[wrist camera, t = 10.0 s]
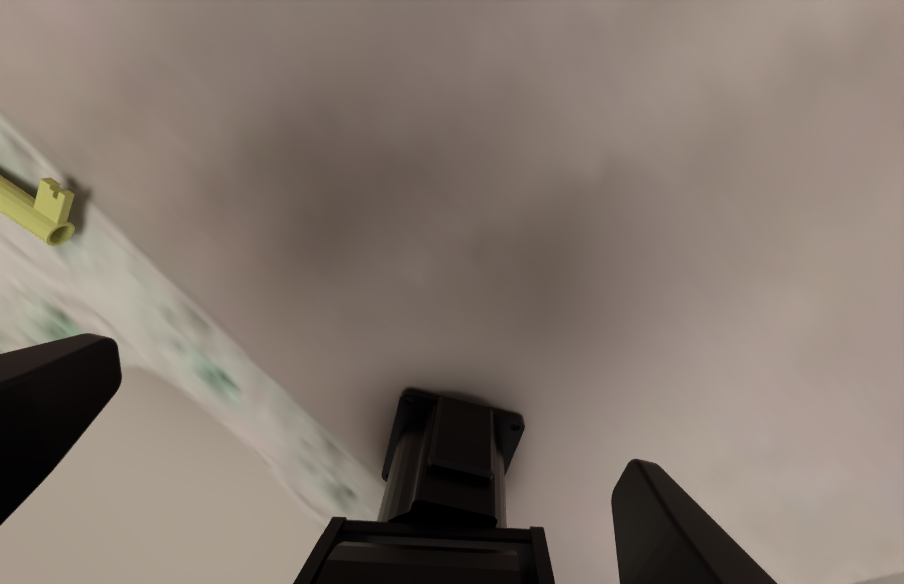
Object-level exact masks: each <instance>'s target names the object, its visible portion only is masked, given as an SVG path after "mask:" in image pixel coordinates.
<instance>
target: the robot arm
mask: <svg viewBox="0 0 904 584" xmlns="http://www.w3.org/2000/svg"><path fill="white" fill-rule="evenodd" d="M121 380H122V373H121V366H120V358H119V351H118V345H117V343H116V342H115V340H113V339H112V338H109V337H105V336H100V335H96V334H90V333H85V334H80V335H76V336H72V337H68V338H64V339H60V340H56V341H52V342H48V343H44V344H40V345H35V346H31V347H27V348H23V349H19V350H15V351H11V352H7V353H3V354H0V525H1V524H2V523H3V522H4V521H5V520H6V519H7V518H8V517H9V516H10V515H11V514H12V513H13V512H14V511H15V510H16V509H17V508H18V507H19V506H20V505H21V504H22V503H23V502H24V501H25V500H26V498H27V497H28V496H29V495H30V494H31V493H32V492H33V491H34V490H35V489H36V488H37V487H38V486H39V485H40V484H41V483H42V482H43V481H44V479H45V478H46V477H47V476H48V475H49V474H50V473H51V472H52V471H53V470H54V468H55V467H56V466H57V465H58V464H59V463H60V461H61V460H62V459H63V458H64V457H65V455H66V454H67V453H68V452H69V450H70V449H71V448H72V447H73V445H74V444H75V443H76V442H77V441H78V439H79V438H80V437H81V436H82V434H83V433H84V432H85V431H86V429H87V428H88V427H89V425H90V424H91V423H92V422H93V421H94V419H95V418H96V417H97V416H98V414H99V413H100V412H101V411H102V410H103V408H104V407H105V406H106V404H107V403H108V402H109V401H110V400H111V398H112V397H113V396H114V395H115V393H116V392H117V390H118V389H119V386H120V384H121ZM407 398H412V399H413V400H412V401H410V400H408V399H407ZM513 423H517V424H518V425H511V424H513ZM524 428H525V424H524V419H523V418H522V417H521V416H520V415H518V414H514V413H509V412H505V411H501V410H497V409H493V408H489V407H485V406H480V405H476V404H472V403H468V402H464V401H460V400H456V399H451V398H447V397H443V396H439V395H435V394H431V393H427V392H423V391H418V390H414V389H406V390H404V391H403V392H402V393H401V396H400V400H399V404H398V408H397V412H396V417H395V421H394V425H393V429H392V433H391V438H390V442H389V446H388V450H387V454H386V459H385V463H384V467H383V471H382V478H383V480H385V481H386V482H387V484H386V488H385V492H384V496H383V500H382V504H381V508H380V511H379V515H378V519H377V521H361V520H347V518H346V517H332V519H331V521H330V522H329V524H328V526H327V527H326V529H325V531H324V533H323V534H322V535H321V537H320V538H319V540H318V542H317V543H316V545H315V547H314V549H313V550H312V552H311V554H310V556H309V557H308V559H307V561H306V563H305V564H304V566H303V568H302V569H301V571H300V573H299V575H298V576H297V578H296V580H295V582H294V583H293V584H555V581H554V576H553V571H552V566H551V561H550V557H549V552H548V547H547V542H546V537H545V532H544V528H543V527H530V529H520V528H507V525H506V501H505V474H506V472H507V469H508V467H509V465H510V462H511V460H512V458H513V455H514V453H515V450H516V448H517V446H518V443H519V441H520V439H521V436H522V434H523V431H524ZM611 504H612V514H613V523H614V532H615V541H616V551H617V560H618V569H619V578H620V584H777V583H776V582H775V581H774V580H773V579H772V578H771V577H770V576H769V575H768V574H767V573H766V572H765V571H764V570H763V569H762V568H761V567H760V566H759V565H758V564H757V563H756V562H755V561H754V560H753V559H752V558H751V557H750V556H749V555H748V554H747V553H746V552H745V551H744V550H743V549H742V548H741V547H740V546H739V545H738V544H737V543H736V542H735V541H734V540H733V539H732V538H731V537H730V536H729V535H728V534H727V533H726V532H725V531H724V530H723V529H722V528H721V527H720V526H719V525H718V524H717V523H716V522H715V521H714V520H713V519H712V518H711V517H710V516H709V515H708V514H707V513H706V512H705V511H704V510H703V509H702V508H701V507H700V506H699V505H698V504H697V503H696V502H695V501H694V500H693V499H692V498H691V497H690V496H689V495H688V494H687V493H686V492H685V491H684V490H683V489H682V488H681V487H680V486H679V485H678V484H677V483H676V482H675V481H674V480H673V479H672V478H671V477H670V476H669V475H668V474H667V473H666V472H665V471H664V470H663V469H662V468H661V467H660V466H659V465H657V464H656V463H653V462H649V461H644V460H640V459H633V460H631V461H630V462H629V463H628V464H627V466H626V468H625V470H624V472H623V473H622V475H621V477H620V479H619V480H618V482H617V484H616V486H615V488H614V490H613V493H612V499H611Z"/></svg>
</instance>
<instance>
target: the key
mask: <svg viewBox="0 0 904 584" xmlns="http://www.w3.org/2000/svg"><path fill="white" fill-rule="evenodd" d="M59 186H60V184H59V183H58V182H56V181H55V180H54V179H52V178H45V179H41V180H40V184H39V188H38V192H37V196H36V199H35V198H33V197H32V196H30V195H29V194H27V193H26V192H24V191H23V190H21V189H20V188H18V187H17V186H16V185H14V184H13V183H11V182H10V181H8V180H7V179H5V178H4V177H2V176H1V175H0V212H1V213H3V214H4V215H6V216H7V217H9V218H10V219H12V220H13V221H15V222H16V223H17V224H19V225H20V226H22V227H23V228H25V229H26V230H28V231H29V232H31V233H32V234H34V235H35V236H37V237H38V238H40V239H41V240H43V241H44V242H46V243H47V244H49V245H52V246H55V245H60V244H62V243H64V242H66V241H67V240H68V239H69V238H70V237H71V236H72V235H73V233H74V231H75V227H74V226H73V224H71V223H70V222H68V221H67V219H68V215H69V212H70V209H71V205H72V202H73V198H74V195H75V194H74V193H72V192H71V191H69V190H66V191H63V189H61V188H60V187H59Z"/></svg>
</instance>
